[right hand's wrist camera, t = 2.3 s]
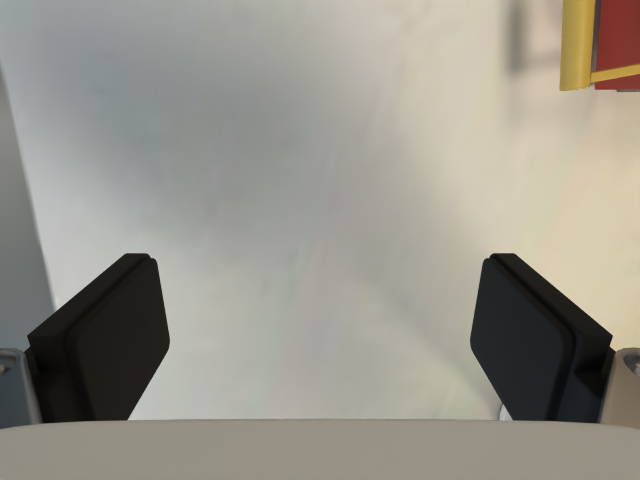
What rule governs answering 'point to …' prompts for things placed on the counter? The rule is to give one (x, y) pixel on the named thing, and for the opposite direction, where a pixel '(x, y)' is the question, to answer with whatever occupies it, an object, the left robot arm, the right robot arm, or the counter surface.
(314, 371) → the counter surface
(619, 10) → the drawer
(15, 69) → the counter surface
